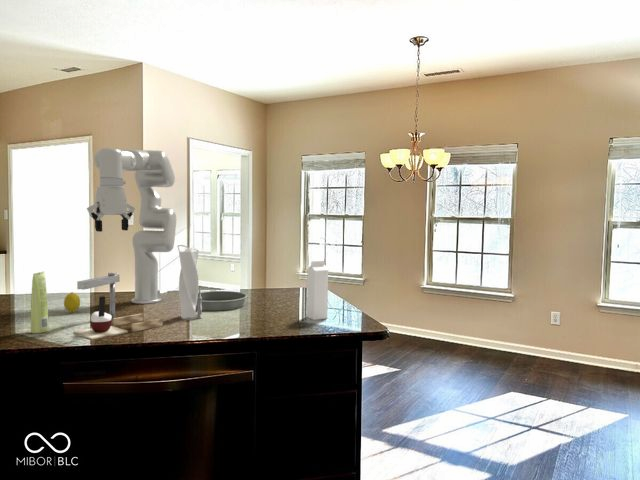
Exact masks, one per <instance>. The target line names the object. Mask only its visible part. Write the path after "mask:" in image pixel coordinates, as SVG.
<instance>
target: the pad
mask: <svg viewBox="0 0 640 480" xmlns="http://www.w3.org/2000/svg"><path fill="white" fill-rule="evenodd" d="M72 333H73V334H74V335H77V336H80V337H83V338H86V339H89V340H91V341H92V340H97V339H102V338H107V337H112V336H117V335H123V334H128V333H129V330H127V329H123V328H119V327H117V326H113V325H111V327H110V329H109V330H108V331H106V332H95V331H93V330H92V327H90V328H88V329H87V328H86V329H80V330H75V331H73V332H72Z"/></svg>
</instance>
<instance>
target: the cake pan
mask: <svg viewBox="0 0 640 480" xmlns="http://www.w3.org/2000/svg"><path fill="white" fill-rule="evenodd" d="M198 297H199V292H198ZM201 297H202V299H201V304H202V310H204V311H205V310H206V311H226V310H234V309H239V308H242V307H244V305H245V300H246V299H247V297H248V294H247V293H245V292H241V291H232V290H230V291H229V290H211V291H201ZM196 309H198V299H197V305H196Z"/></svg>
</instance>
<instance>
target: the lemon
mask: <svg viewBox="0 0 640 480" xmlns="http://www.w3.org/2000/svg"><path fill="white" fill-rule="evenodd" d="M80 305H81V300H80V297H79V295H78V294H77V293H74V292H72V291H71V292H70V293H68V294H67V295H65V297H64V299H63V306H64V308H65V310H67V311H68V312H70V313H74V312H75V311H77V310H79V308H80Z"/></svg>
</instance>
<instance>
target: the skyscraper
mask: <svg viewBox="0 0 640 480" xmlns="http://www.w3.org/2000/svg"><path fill="white" fill-rule="evenodd" d="M180 247H184V248H185V249H184V250H180ZM177 249H178V250H177V251H178V254H179V262H180V271H179V272H180V273H179V277H178V280H179V281H178V295H179V296H178V297H179V304H180V311H181V312H180V316H179V317H180V319H182V320H183V321H189V320H198V319H200V320H201V319H203V312H202V310H203V309H202V304H201V299H202V297H201V292H202V290H201V285H199V274H198V269H197V263H198V257H199V253H200V252H199V249H197V248H190V247H189V246H187V245H185V244H178V245H177ZM198 293H199V297H198ZM197 299H198V308H196V305H197ZM196 310H197V313H196Z"/></svg>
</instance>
